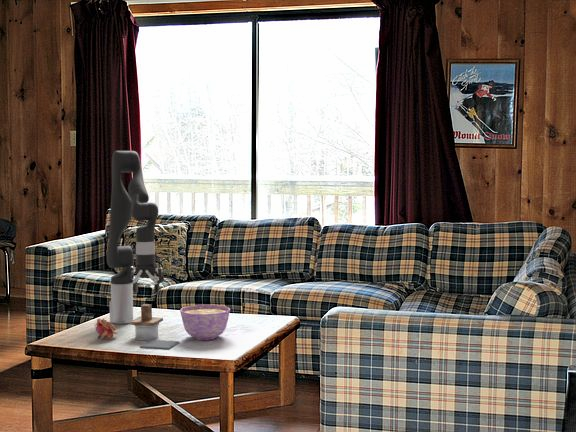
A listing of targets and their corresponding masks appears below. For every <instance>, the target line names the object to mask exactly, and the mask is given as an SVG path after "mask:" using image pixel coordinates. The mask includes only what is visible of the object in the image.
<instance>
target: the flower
mask: <svg viewBox="0 0 576 432" xmlns="http://www.w3.org/2000/svg"><path fill="white" fill-rule="evenodd" d="M94 327H95V332H96V333H97V334H98V336H97V339H99V340H100V338H103V339H105V340H108V339H109V338H113V337H114V335H118V334H119V332H118V331H115V330H116V325H114V323H110V321H107V320H106V319H105V318H102V319H101V318H98V319H96V323H95V324H94Z"/></svg>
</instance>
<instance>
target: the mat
mask: <svg viewBox="0 0 576 432" xmlns="http://www.w3.org/2000/svg"><path fill="white" fill-rule="evenodd" d="M178 344H180V341H179V340H165V339H164V340H163V339H152V340H147V341H146V342H144V343H142V344H141V345H139V348H140V349H156V350H171V349H172V348H174V347H175V346H177V345H178Z"/></svg>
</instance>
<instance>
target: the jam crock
mask: <svg viewBox="0 0 576 432" xmlns="http://www.w3.org/2000/svg"><path fill="white" fill-rule="evenodd" d="M133 326H134V328H135V330H134V331H135V335H134V336H135V340H137V341H138V340H139V341H149V340H157V339H158V338H159V326H160V323H158V324H156V325H154V326H144V325H133Z"/></svg>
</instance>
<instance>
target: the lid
mask: <svg viewBox="0 0 576 432" xmlns="http://www.w3.org/2000/svg"><path fill="white" fill-rule="evenodd" d="M152 307H153V306H152V303H151V304H149V303H143V304H142V305H140V312H141V313H140V316H139V317H136V318H133V320H132V321H130V323H129V325H130V326H134V325H144V326H154V325H156V324H158V323H159V324H160V323H162V322H164V317H159V316H158V317H155V316H153V311H152V310H153V308H152Z"/></svg>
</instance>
